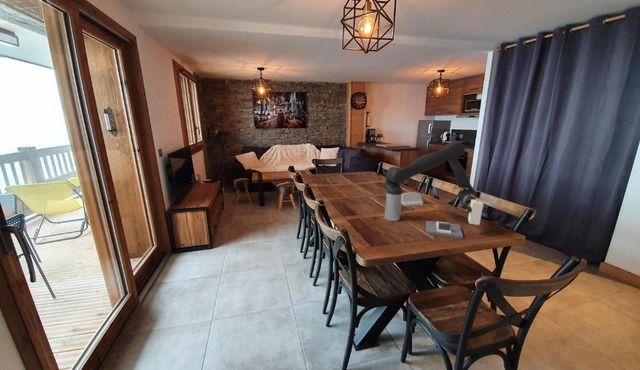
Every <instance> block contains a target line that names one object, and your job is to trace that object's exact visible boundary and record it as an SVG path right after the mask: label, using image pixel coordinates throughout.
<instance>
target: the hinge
mask: <svg viewBox="0 0 640 370" xmlns="http://www.w3.org/2000/svg"><path fill="white" fill-rule="evenodd" d="M401 205H402V206H404V207H407V206H423V205H424V201H423V199H422V194H421V193H419V192H413V191H410V192H405V193H402V199H401Z"/></svg>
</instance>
